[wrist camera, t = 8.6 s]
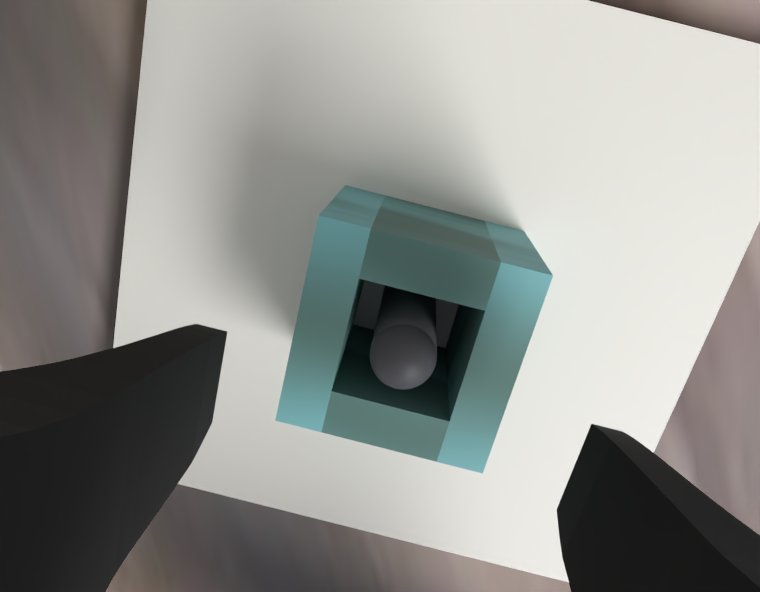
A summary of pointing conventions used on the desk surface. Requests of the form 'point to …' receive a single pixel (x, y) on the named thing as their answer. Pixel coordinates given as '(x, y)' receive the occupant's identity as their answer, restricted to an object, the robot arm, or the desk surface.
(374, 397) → the teal hollow square tube
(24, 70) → the desk surface
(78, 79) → the desk surface
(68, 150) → the desk surface
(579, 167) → the white square slab
